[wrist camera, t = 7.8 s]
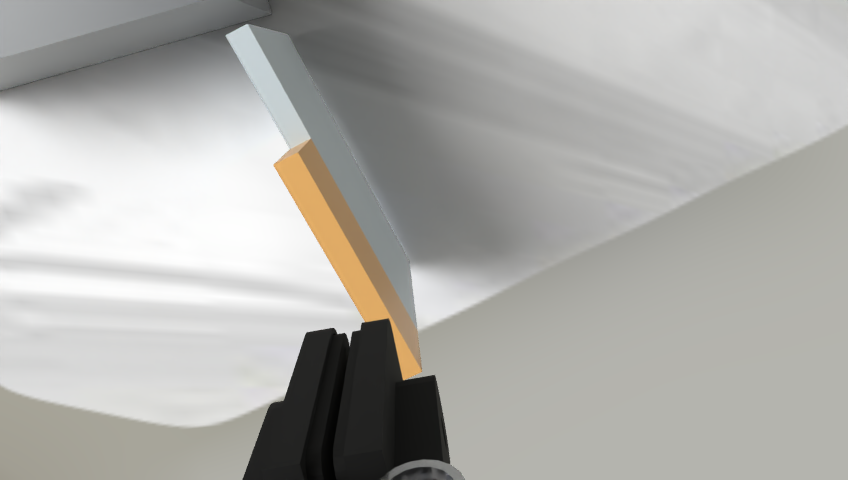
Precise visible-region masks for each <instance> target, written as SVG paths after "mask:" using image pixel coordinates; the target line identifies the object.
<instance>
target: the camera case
mask: <svg viewBox="0 0 848 480" xmlns="http://www.w3.org/2000/svg"><path fill="white" fill-rule="evenodd" d="M271 14H272V12H271V9H270V6H269V3H268V0H0V91H2V90H5V89H9V88H12V87H16V86H19V85H23V84H26V83H30V82H34V81H37V80H41V79H44V78H48V77H51V76H55V75H58V74H62V73H65V72H69V71H72V70H76V69H80V68H83V67H87V66H90V65H94V64H97V63H101V62H104V61H108V60H111V59H115V58H118V57H122V56H126V55H129V54H133V53H136V52H140V51H143V50H147V49H150V48H154V47H157V46H161V45H164V44H168V43H172V42H175V41H179V40H182V39H186V38H189V37H193V36H196V35H200V34H203V33H207V32H210V31H214V30H218V29H221V28H225V27H228V26H232V25H235V24H239V23H242V22H246V21H249V20H253V19H256V18H260V17H264V16H267V15H271Z"/></svg>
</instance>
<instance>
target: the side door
mask: <svg viewBox="0 0 848 480" xmlns="http://www.w3.org/2000/svg"><path fill="white" fill-rule="evenodd" d="M225 36H226V38H227V39H228V41H229V43H230V45H231V46H232V48H233V50H234V52H235V53H236V55H237V57H238V59H239V61H240V62H241V64H242V66H243V68H244V69H245V71H246V73H247V75H248V76H249V78H250V80H251V82H252V83H253V85H254V87H255V89H256V90H257V92H258V94H259V96H260V97H261V99H262V101H263V103H264V104H265V106H266V108H267V110H268V111H269V113H270V115H271V117H272V118H273V120H274V122H275V124H276V125H277V127H278V129H279V131H280V132H281V134H282V136H283V138H284V140H285V141H286V143H287V145H288V147H289V148H290V150H289V151H288V152H286V153H285V154H284V155H283V156H282V157H281V158H280V159H279V160H278V161H277V162H276V163H275V164H274V167H275V169H276V170H277V172H278V174H279V176H280V177H281V179H282V181H283V182H284V184H285V186H286V187H287V189H288V191H289V193H290V194H291V196H292V198H293V199H294V201H295V203H296V205H297V206H298V208H299V210H300V211H301V213H302V215H303V217H304V218H305V220H306V222H307V223H308V225H309V227H310V229H311V230H312V232H313V234H314V235H315V237H316V239H317V241H318V242H319V244H320V246H321V247H322V249H323V251H324V252H325V254H326V256H327V258H328V259H329V261H330V263H331V264H332V266H333V268H334V270H335V271H336V273H337V275H338V276H339V278H340V280H341V282H342V283H343V285H344V287H345V288H346V290H347V292H348V294H349V295H350V297H351V299H352V300H353V302H354V304H355V306H356V307H357V309H358V311H359V312H360V314H361V316H362V318H363V319H364V321H365V322H370V321H376V320H382V319H387V318H389V320H390V323H391V327H392V331H393V336H394V341H395V345H396V350H397V355H398V359H399V364H400V369H401V373H402V378H403V380H406V379H407V378H410V377H412V376H414V375H416V374H418V373H420V372H422V367H421V357H420V349H419V340H418V331H417V323H416V314H415V305H414V296H413V288H412V279H411V270H410V262H409V259H408V257H407V255H406V254H405V252H404V250H403V248H402V246H401V244H400V242H399V241H398V239H397V237H396V235H395V233H394V231H393V229H392V227H391V226H390V224H389V222H388V220H387V218H386V216H385V214H384V213H383V211H382V209H381V207H380V205H379V203H378V201H377V199H376V198H375V196H374V194H373V192H372V190H371V188H370V186H369V185H368V183H367V181H366V179H365V177H364V175H363V173H362V171H361V170H360V168H359V166H358V164H357V162H356V160H355V158H354V156H353V155H352V153H351V151H350V149H349V147H348V145H347V143H346V142H345V140H344V138H343V136H342V134H341V132H340V130H339V128H338V127H337V125H336V123H335V121H334V119H333V117H332V115H331V114H330V112H329V110H328V108H327V106H326V104H325V102H324V100H323V99H322V97H321V95H320V93H319V91H318V89H317V87H316V86H315V84H314V82H313V80H312V78H311V76H310V74H309V72H308V71H307V69H306V67H305V65H304V63H303V61H302V59H301V58H300V56H299V54H298V52H297V50H296V48H295V46H294V44H293V43H292V41H291V39H290V37H289V35H288V34H286V33H282V32H278V31H274V30H270V29H266V28H262V27H259V26H255V25H251V24H246V25H244V26H242V27H240V28H238V29H236V30H235V31H233V32H231V33H229V34H227V35H225Z"/></svg>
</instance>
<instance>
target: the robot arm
mask: <svg viewBox="0 0 848 480" xmlns="http://www.w3.org/2000/svg"><path fill="white" fill-rule="evenodd" d="M243 480H465V478H464V477H463V475H462V474H461V472H460V471H459V470H457V469H456V468H455V467H453V466H452V465H450V457H449V449H448V443H447V435H446V429H445V423H444V418H443V412H442V406H441V401H440V396H439V392H438V386H437V381H436V377H435V375H432V376H426V377H420V378H414V379H408V380H403V378H402V373H401V369H400V364H399V359H398V355H397V350H396V345H395V341H394V336H393V331H392V327H391V323H390V320H389V318H387V319H382V320H376V321H370V322H364V323H362V325H361V330H360V331H354V332H352V337H351V343H350V346H349V342H348V338H347V335H346V334H345V333H342V334H337V332H336V330H335V329H334V328H330V329H324V330H318V331H313V332H307V333H306V335H305V337H304V341H303V344H302V347H301V350H300V353H299V356H298V359H297V362H296V365H295V368H294V371H293V374H292V377H291V380H290V384H289V387H288V390H287V393H286V396H285V399H284V401H281V402H275V403H272V404H271V405H270V407H269V408H268V411H267V413H266V416H265V419H264V422H263V425H262V428H261V430H260V433H259V436H258V438H257V441H256V444H255V447H254V449H253V452H252V455H251V458H250V461H249V464H248V466H247V469H246V472H245V474H244V477H243Z"/></svg>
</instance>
